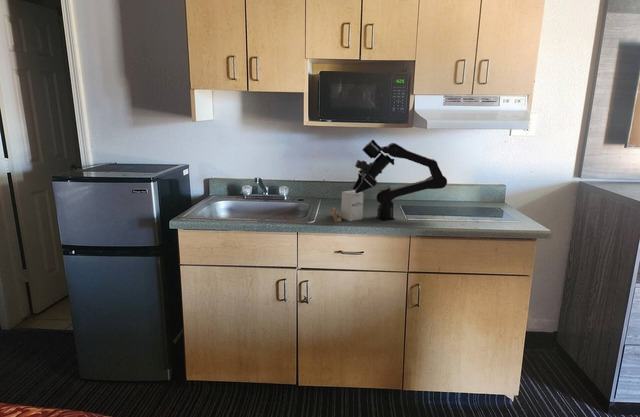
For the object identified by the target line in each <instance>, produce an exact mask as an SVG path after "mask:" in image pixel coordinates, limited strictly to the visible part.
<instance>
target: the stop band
mask: <svg viewBox="0 0 640 417" xmlns="http://www.w3.org/2000/svg"><path fill="white" fill-rule="evenodd" d="M332 217H333V220H334V222H335V223H337V222H338V223H339V222H342V218H341V217H339V212H337V211H336V208H335V207H332Z"/></svg>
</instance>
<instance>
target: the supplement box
mask: <svg viewBox="0 0 640 417" xmlns="http://www.w3.org/2000/svg"><path fill="white" fill-rule="evenodd" d="M355 191H356V189H355V190H354V189H352V190H346V191H345V190H343V191H341V201H340V202H341V204H340V205H341V208H340V218H341V219H343V220H347V221H348V222H353V221H358V220H363V214H364V212H363V210H364V191H362V192H359V193H356V192H355Z"/></svg>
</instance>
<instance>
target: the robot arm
mask: <svg viewBox="0 0 640 417" xmlns="http://www.w3.org/2000/svg"><path fill="white" fill-rule="evenodd" d="M361 151H362V152H363V153H365V154H366V155H367V157H369V158H370V159H374V161H372V162H371V161H370V162H369V163H367V161H365V160H360V159H357V160H356V163H355V165H354V167H355V168H356V169H359V171H358V172H357V176H358V177H357V179H356V182H355V183H354V184H353V187H352V190H355V192H356V193H359V192H364V191H366V190H369V189H371V188H374V187H375V186H376V185H377V184H378V183H377V182H378V181H377V177H378V176H379V175H380V174H382V173H383V171H384V170H385V168H387V166H388V165H389V164H391V165H393V166H395V158H397V159H405V160H408V161H411V162H414V163H416V164H419V165H421V166H425V167H427V168H428V170H429V173H430V176H429V177H427V178H425V179H423V180H420V181H416V182H413V183H408V184H405V185H402V186H401V185H400V186H398V187H391V186H390V185H389V184H388V185H387V186H386V185H385V186H382V187H380V188H379V189H377V190H376V192H375V198H376V201H377V202H378V203H379V205H378V208H377V213H376V214H377V215H376V216H375V217H376V218H377V219H379V220H382V221H390V220H391V221H392V220H395V219H396V218H395V217H394V208H395V206H394V205H395V204H394V201H393V200H395V199H396V198H398V197H401V196H402V197H403V196H405V195H410V194H413V193H416V192H421V191H425V190H437V189H439V190H440V189H444V188H445V187H446V186H447V184H448V179H447V177H446V176H444V175H443V173H442V171H441V169H440V167H439V165H438V164H439V163H438V161H436V159H432V158H429V157H426V156H424V155H421V154H418V153H416V152H413V151H410V150H408V149H406V148H404V147H403V146H401V145H399V144H397V143H395V142H391V143H389V144H388V145H386V146H380V145H379V144H378V143H377V142H376V140H374V139H371V140H370V141H369V142H368V143H366V144H365V146H364V147H362V150H361ZM382 152H383V153H382Z"/></svg>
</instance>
